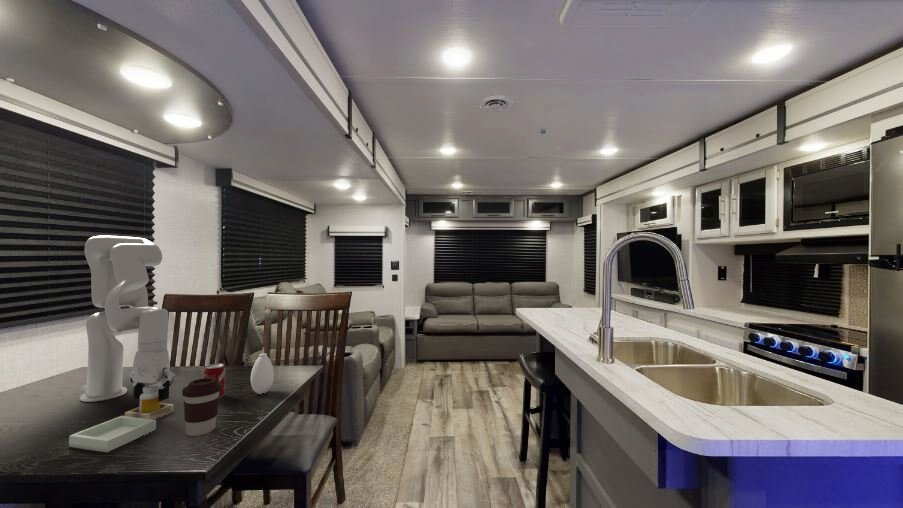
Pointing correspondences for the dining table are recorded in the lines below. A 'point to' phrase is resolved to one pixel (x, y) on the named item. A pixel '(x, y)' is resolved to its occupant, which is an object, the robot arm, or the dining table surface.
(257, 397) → the dining table surface
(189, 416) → the coffee cup
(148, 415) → the socket collar
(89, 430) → the tray
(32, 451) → the dining table surface
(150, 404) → the supplement bottle
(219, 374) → the soda can
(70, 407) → the dining table surface
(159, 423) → the dining table surface
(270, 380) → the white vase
